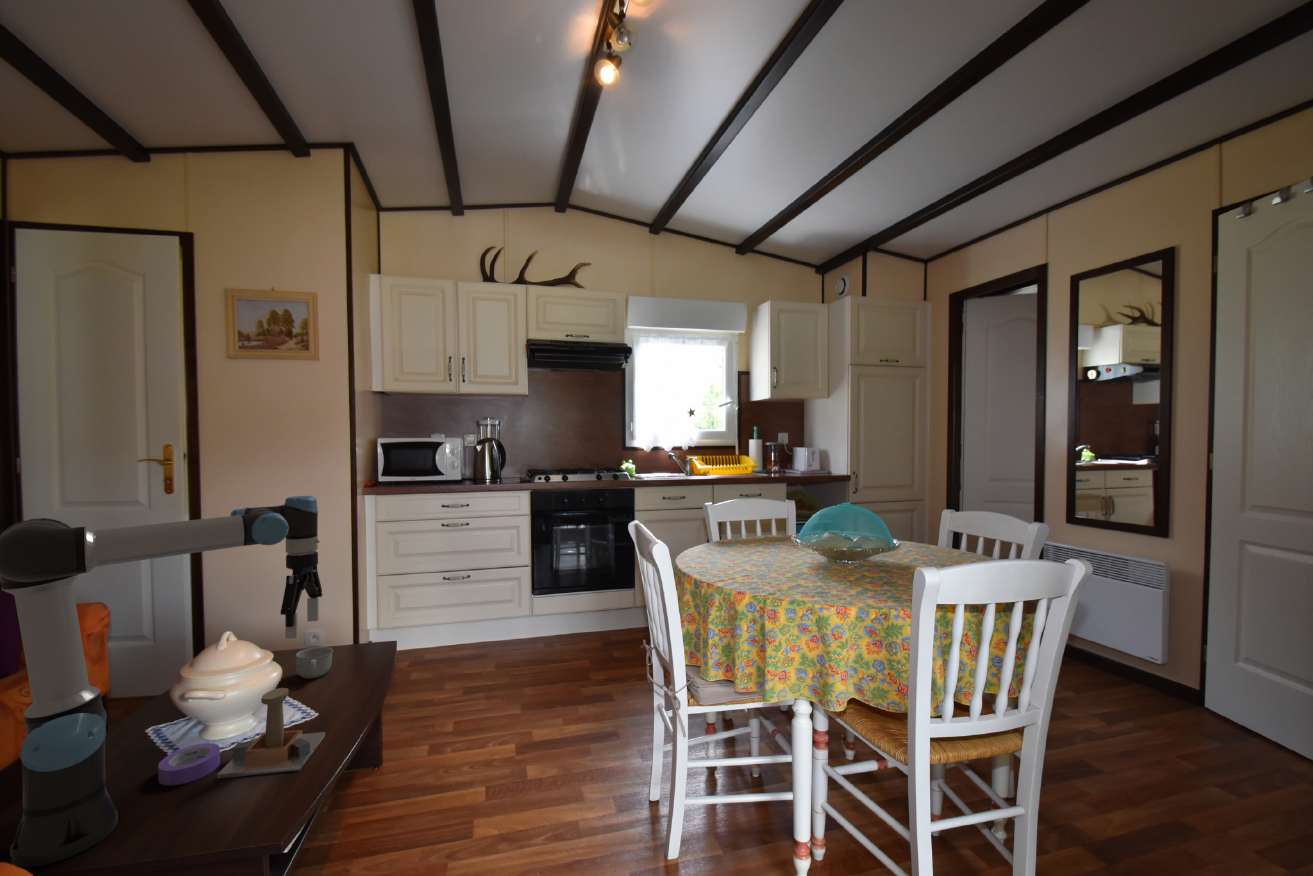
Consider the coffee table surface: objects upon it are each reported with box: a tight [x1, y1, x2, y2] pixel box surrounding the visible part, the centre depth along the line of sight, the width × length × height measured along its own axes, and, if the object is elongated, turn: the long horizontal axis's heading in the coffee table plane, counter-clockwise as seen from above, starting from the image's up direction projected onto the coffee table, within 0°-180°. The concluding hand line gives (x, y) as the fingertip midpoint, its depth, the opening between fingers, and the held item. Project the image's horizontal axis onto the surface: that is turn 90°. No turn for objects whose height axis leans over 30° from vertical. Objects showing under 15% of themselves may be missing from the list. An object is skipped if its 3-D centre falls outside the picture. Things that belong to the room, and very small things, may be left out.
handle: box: [260, 687, 289, 748], centre depth 144 cm, size 5×6×15 cm
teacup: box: [295, 646, 334, 679], centre depth 191 cm, size 14×11×8 cm
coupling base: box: [216, 729, 326, 780], centre depth 144 cm, size 18×16×4 cm
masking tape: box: [157, 742, 221, 787], centre depth 138 cm, size 12×12×4 cm
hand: (302, 629), depth 155 cm, fingers open, 13 cm apart
